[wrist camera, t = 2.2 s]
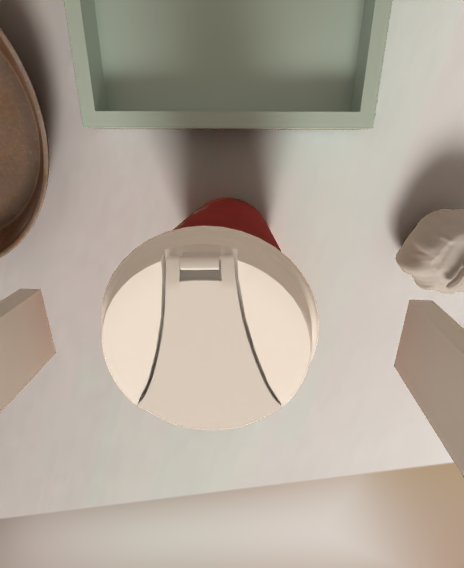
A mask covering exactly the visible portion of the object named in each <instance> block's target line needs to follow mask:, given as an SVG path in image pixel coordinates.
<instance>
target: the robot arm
mask: <svg viewBox="0 0 464 568" xmlns="http://www.w3.org/2000/svg"><path fill="white" fill-rule="evenodd" d="M55 353H56V352H55V348H54V343H53V339H52V335H51V331H50V327H49V322H48V318H47V314H46V310H45V306H44V301H43V297H42V293H41V289H19V290H18V291H16V292H14V293H13V294H11V295H10V296H8V297H7V298H5V299H4V300H2V301H0V413H1V411H2V410H3V409H4V408H5V407H6V406H7V405H8V404H9V403H10V402H11V401H12V400H13V399H14V397H15V396H16V395H17V394H18V393H19V392H20V391H21V390H22V389H23V388H24V387H25V386H26V384H27V383H28V382H29V381H30V380H31V379H32V378H33V377H34V376H35V375H36V374H37V373H38V371H39V370H40V369H41V368H42V367H43V366H44V365H45V364H46V363H47V362H48V361H49V360H50V358H51V357H52V356H53V355H54V354H55ZM394 366H395V368H396V370H397V371H398V373H399V374H400V376H401V378H402V379H403V381H404V382H405V384H406V386H407V387H408V389H409V391H410V392H411V394H412V395H413V397H414V399H415V400H416V402H417V403H418V405H419V407H420V408H421V410H422V411H423V413H424V415H425V416H426V418H427V419H428V421H429V423H430V424H431V426H432V427H433V429H434V431H435V432H436V434H437V435H438V437H439V439H440V440H441V442H442V443H443V445H444V447H445V448H446V450H447V451H448V453H449V455H450V456H451V458H452V460H453V461H454V463H455V464H456V466H457V468H458V469H459V471H460V472H461V474H462V475H463V477H464V329H463V328H462V327H461V326H460V325H459V324H458V323H457V322H456V321H455V320H453V319H452V318H451V317H450V316H449V315H448V314H447V313H446V312H445V311H443V310H442V309H441V308H440V307H439V306H438V305H437V304H436V303H435V302H433V301H430V300H409V304H408V309H407V313H406V317H405V321H404V326H403V330H402V334H401V338H400V343H399V347H398V351H397V355H396V360H395V364H394Z"/></svg>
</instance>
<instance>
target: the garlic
mask: <svg viewBox="0 0 464 568" xmlns="http://www.w3.org/2000/svg"><path fill="white" fill-rule="evenodd" d="M396 261H397V263H398V265H399V266H400V268H401V269H402V270H403V271H404V272H406V273H408V274H410V275H412V277H413V278H414V280H415V283H416V284H417V285H418V286H419V287H420V288H422V289H425V290H436V291H438V292H441V293H445V294H452V293H455V292H464V208H460V209H453V210H451V209H447V208H445V209H439V210H437V211H434V212H431V213H429V214H427V215H426V216H425V217H423V218H422V219H421V220H420V221H419V222H418V224H417V226H416V227H415V228H414V229H413V231H412V232H411V233H410V234H409V236H408V237H407V239H406V240H405V241H404V243H403V246H402V247H401V249H400V250H399V251H398V253H397V255H396Z"/></svg>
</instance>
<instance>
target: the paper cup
mask: <svg viewBox="0 0 464 568" xmlns="http://www.w3.org/2000/svg"><path fill="white" fill-rule="evenodd" d="M101 321H102V331H101V341H102V350H103V354H104V358H105V361H106V364H107V367H108V369H109V371H110V373H111V375H112V377H113V379H114V381H115V382H116V384H117V385H118V387H119V388H120V389H121V391H122V392H123V393H124V394H125V395H126V396H127V397H128V398H129V399H130V400H131V401H132V402H133V403H134V404H135V405H136V404H137V402H138V400H139V403H138V406H139V407H140V408H142V409H144V410H145V411H147V412H149V413H151V414H152V415H154V416H156V417H158V418H160V419H162V420H164V421H166V422H168V423H171V424H174V425H177V426H180V427H185V428H190V429H197V430H226V429H233V428H239V427H242V426H245V425H249V424H252V423H254V422H256V421H258V420H260V419H262V418H264V417H266V416H268V415H270V414H271V413H273V412H275V411H276V410H278V409H280V408H281V404H282V406H284V405H285V404H286V403H288V401H289V400H290V399H291V398H292V397H293V395H294V394H295V393H296V392H297V391H298V389H299V387H300V386H301V384H302V382H303V380H304V379H305V376H306V374H307V371H308V368H309V365H310V363H311V361H312V359H313V356H314V353H315V350H316V348H317V342H318V336H319V315H318V310H317V305H316V301H315V299H314V296H313V293H312V291H311V288H310V286H309V284H308V283H307V281H306V280H305V278H304V276H303V275H302V273H301V272H300V270H299V269H298V268H297V267H296V266H295V265H294V264H293V262H292V261H291V260H290V259H289V258H288V257H287V256H285V255H284V254H283V253H282V252H281V250H280V248H279V246H278V244H277V242H276V241H275V239H274V237H273V235H272V233H271V231H270V229H269V227H268V226H267V224H266V222H265V220H264V219H263V217H262V216H261V215H260V213H259V212H258V211H257V210H256V209H255V208H254V207H252V206H251V205H249V204H248V203H246V202H244V201H241V200H238V199H233V198H222V199H217V200H214V201H211V202H209V203H207V204H205V205H204V206H202V207H201V208H199V209H198V210H197V211H195V212H194V213H193V214H192V215H190V216H189V217H188V218H187V219H185V220H184V221H183V222H182V223H181V224H179V225H178V226H177V227H176V228H175V229H173V230H172V231H168V232H165V233H163V234H161V235H158V236H156V237H154V238H152V239H149V240H148V241H146V242H145V243H143V244H142V245H140V246H139V247H137V248H136V249H135V250H133V251H132V252H131V253H130V254H129V255H128V256H127V257H126V258H125V259H124V260H123V261H122V262H121V264H120V265H119V266H118V268H117V269H116V271H115V272H114V273H113V275H112V277H111V279H110V281H109V283H108V286H107V288H106V291H105V295H104V298H103V302H102V314H101ZM139 398H140V399H139Z"/></svg>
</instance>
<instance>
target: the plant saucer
mask: <svg viewBox="0 0 464 568" xmlns="http://www.w3.org/2000/svg"><path fill="white" fill-rule="evenodd" d="M48 174H49V148H48V139H47V133H46V127H45V122H44V118H43V114H42V110H41V107H40V104H39V101H38V98H37V95H36V92H35V90H34V87H33V85H32V83H31V80H30V78H29V76H28V74H27V71H26V70H25V68H24V66H23V64H22V62H21V60H20V58H19V56H18V55H17V53H16V51H15V49H14V48H13V46H12V44H11V43H10V41H9V40H8V38H7V36H6V35H5V33H4V32H3V31H2V29H1V28H0V258H1V257H2V256H4V255H6V254H7V253H9V252H10V251H11V250H12V249H14V248H15V247H16V246H17V245H18V244H19V243H20V242H21V241H22V240H23V239H24V238H25V236H26V235H27V234H28V232H29V231H30V229H31V228H32V226H33V225H34V223H35V221H36V219H37V217H38V215H39V212H40V210H41V207H42V204H43V201H44V197H45V193H46V188H47V182H48Z"/></svg>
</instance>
